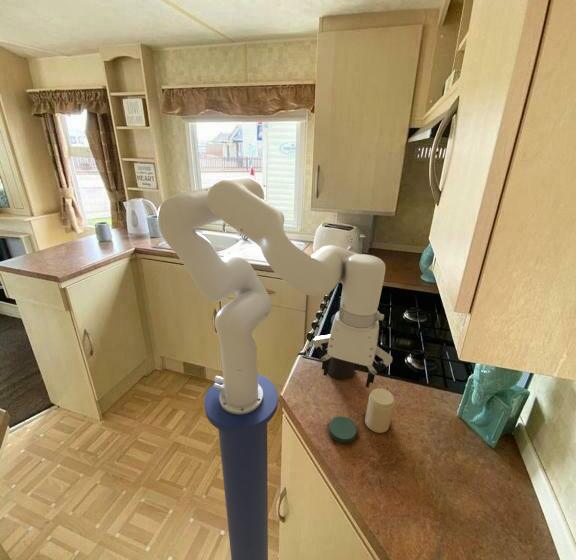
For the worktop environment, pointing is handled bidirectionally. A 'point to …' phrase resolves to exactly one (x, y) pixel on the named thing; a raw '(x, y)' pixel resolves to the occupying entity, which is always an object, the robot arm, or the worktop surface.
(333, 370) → the container
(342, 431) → the jam lid
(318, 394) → the worktop surface
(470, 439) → the worktop surface
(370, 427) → the jam jar
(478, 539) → the worktop surface
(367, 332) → the robot arm
